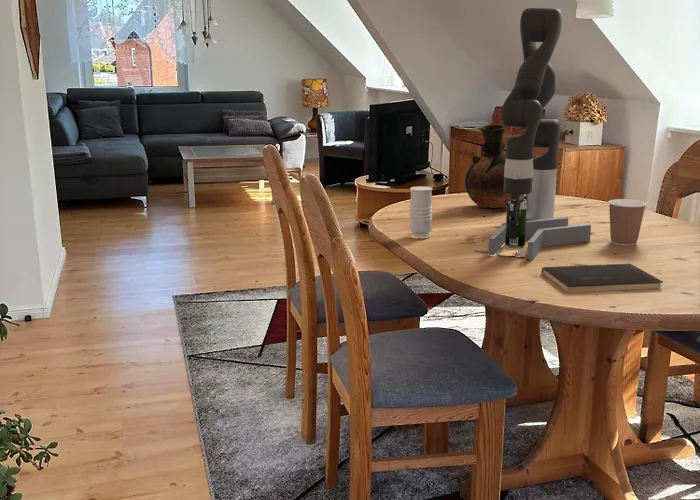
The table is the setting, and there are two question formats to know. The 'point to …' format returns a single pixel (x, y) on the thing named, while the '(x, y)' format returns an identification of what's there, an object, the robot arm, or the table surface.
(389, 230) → the table surface
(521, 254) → the pad
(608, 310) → the table surface
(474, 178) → the ceramic vessel
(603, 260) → the table surface
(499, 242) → the bent channel
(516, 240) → the beer can
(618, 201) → the coffee cup
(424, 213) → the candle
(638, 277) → the hardcover book
